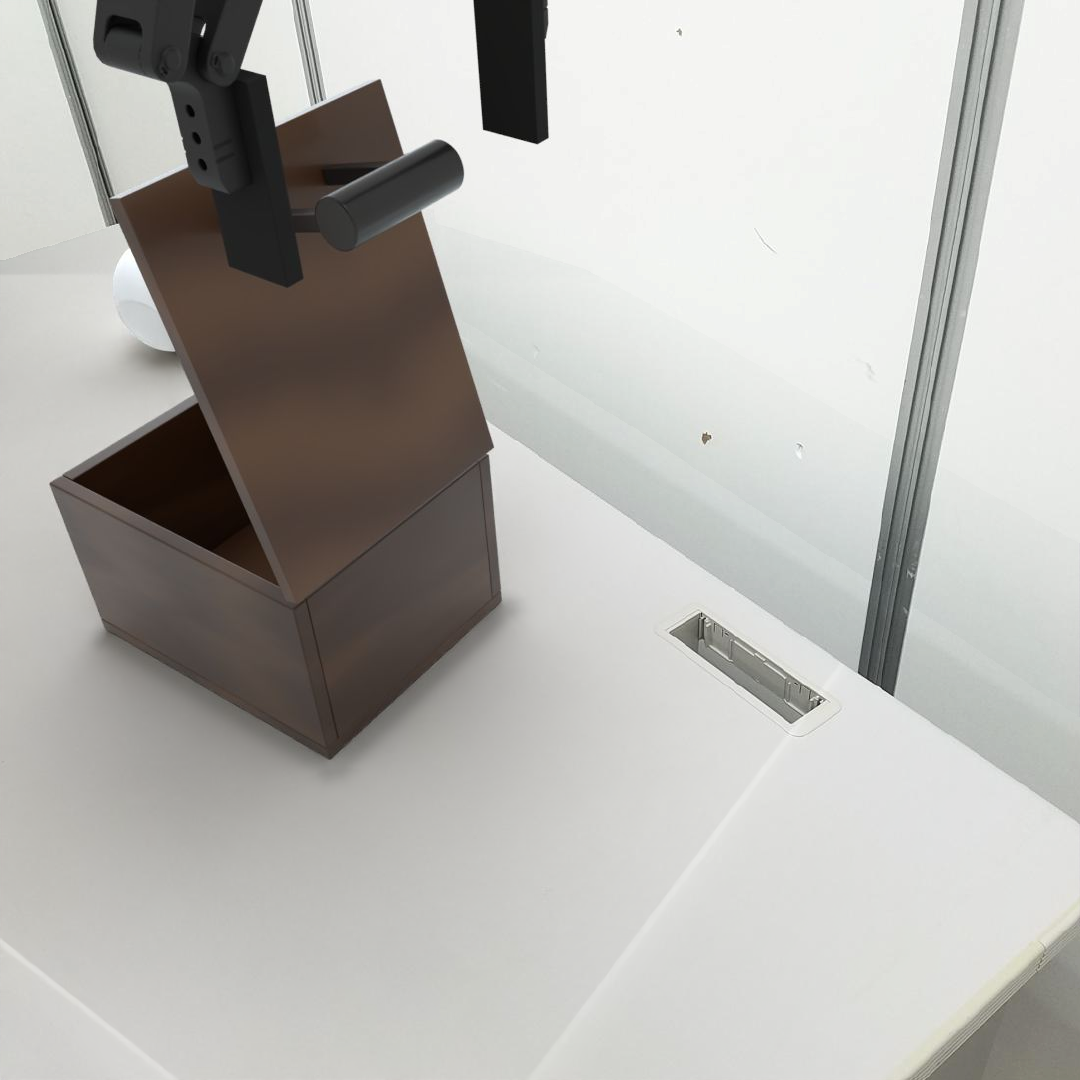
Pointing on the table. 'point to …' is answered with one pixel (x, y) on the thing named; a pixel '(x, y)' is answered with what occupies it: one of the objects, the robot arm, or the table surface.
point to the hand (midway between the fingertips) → (402, 198)
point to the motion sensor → (138, 305)
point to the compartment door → (321, 337)
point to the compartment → (272, 583)
